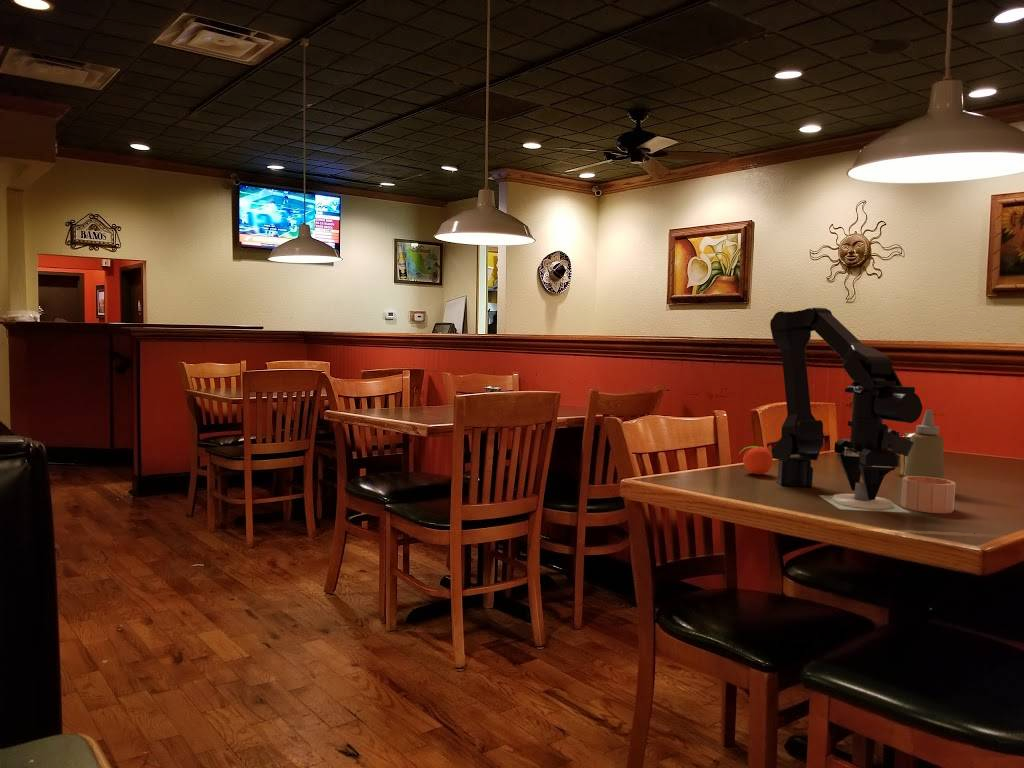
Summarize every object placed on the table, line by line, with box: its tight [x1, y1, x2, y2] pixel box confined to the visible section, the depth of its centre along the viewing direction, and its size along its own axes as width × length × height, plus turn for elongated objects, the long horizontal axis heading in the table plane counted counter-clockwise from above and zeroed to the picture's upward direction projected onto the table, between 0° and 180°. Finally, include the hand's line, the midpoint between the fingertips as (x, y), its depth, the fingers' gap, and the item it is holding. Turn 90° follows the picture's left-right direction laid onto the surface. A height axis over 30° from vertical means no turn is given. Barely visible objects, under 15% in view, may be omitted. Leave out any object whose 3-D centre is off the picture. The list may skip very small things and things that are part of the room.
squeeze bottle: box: [903, 409, 945, 479], centre depth 175 cm, size 8×8×18 cm
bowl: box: [900, 476, 957, 514], centre depth 152 cm, size 9×9×6 cm
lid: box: [832, 481, 894, 510], centre depth 154 cm, size 11×11×4 cm
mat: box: [818, 494, 911, 514], centre depth 154 cm, size 13×13×1 cm
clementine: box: [738, 445, 774, 476], centre depth 188 cm, size 8×7×7 cm
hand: (862, 495), depth 154 cm, fingers open, 9 cm apart
